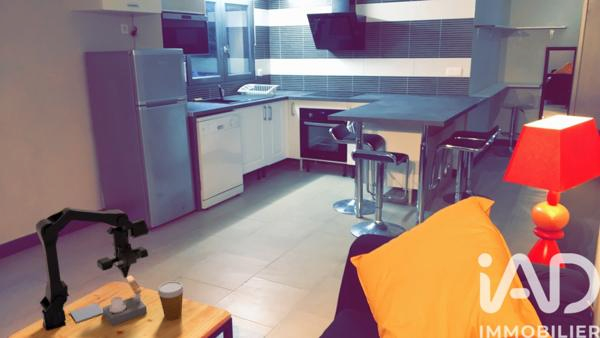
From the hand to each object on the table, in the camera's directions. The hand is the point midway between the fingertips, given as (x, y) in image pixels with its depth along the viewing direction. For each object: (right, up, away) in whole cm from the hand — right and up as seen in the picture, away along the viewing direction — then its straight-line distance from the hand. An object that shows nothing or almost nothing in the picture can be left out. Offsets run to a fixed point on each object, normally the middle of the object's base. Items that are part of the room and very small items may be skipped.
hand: (125, 277), depth 187 cm
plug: (+1, -12, -11) cm, 16 cm away
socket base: (+3, -12, -9) cm, 15 cm away
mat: (-12, -12, -8) cm, 18 cm away
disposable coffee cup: (+22, -12, -10) cm, 27 cm away
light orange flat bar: (+4, -3, -3) cm, 6 cm away
